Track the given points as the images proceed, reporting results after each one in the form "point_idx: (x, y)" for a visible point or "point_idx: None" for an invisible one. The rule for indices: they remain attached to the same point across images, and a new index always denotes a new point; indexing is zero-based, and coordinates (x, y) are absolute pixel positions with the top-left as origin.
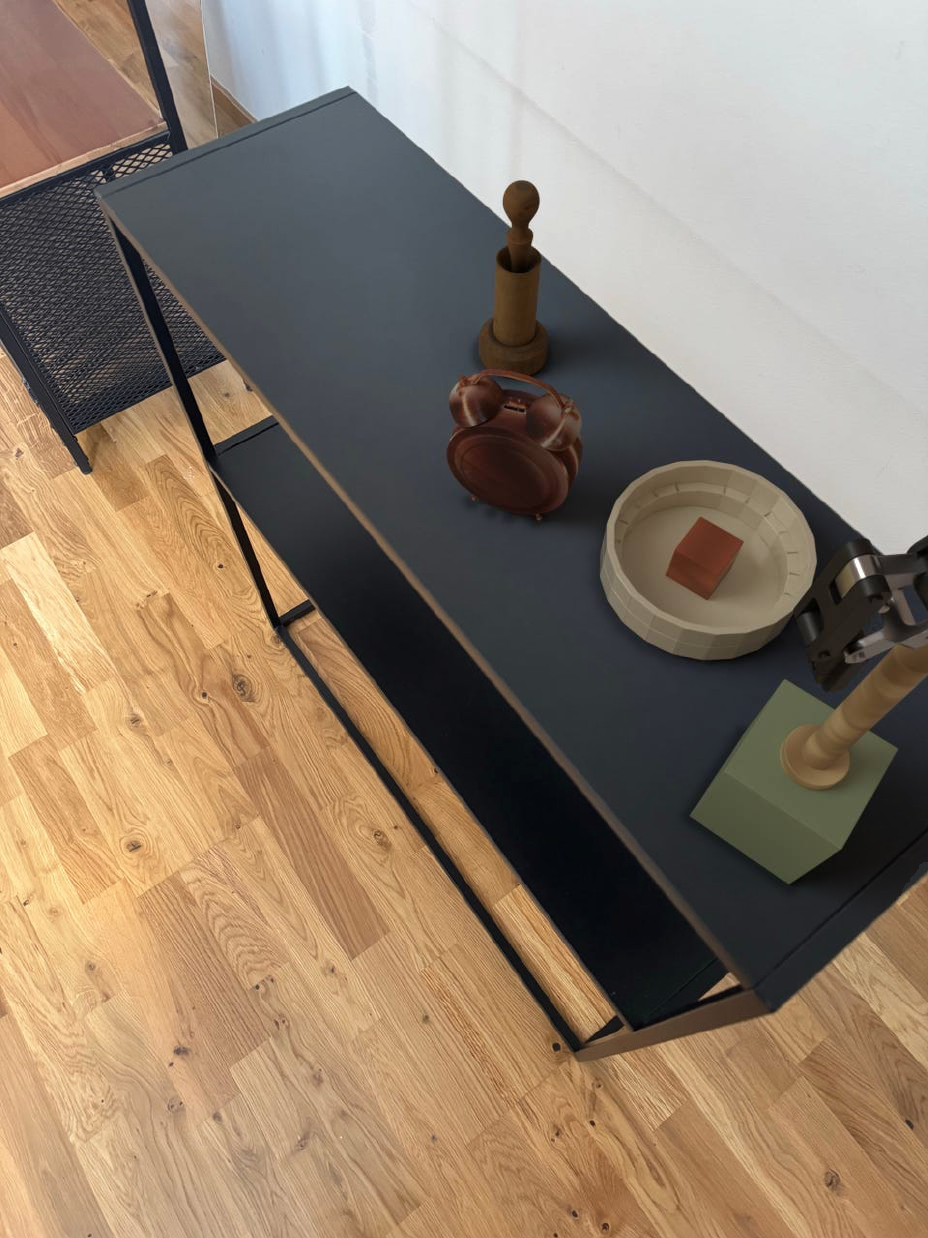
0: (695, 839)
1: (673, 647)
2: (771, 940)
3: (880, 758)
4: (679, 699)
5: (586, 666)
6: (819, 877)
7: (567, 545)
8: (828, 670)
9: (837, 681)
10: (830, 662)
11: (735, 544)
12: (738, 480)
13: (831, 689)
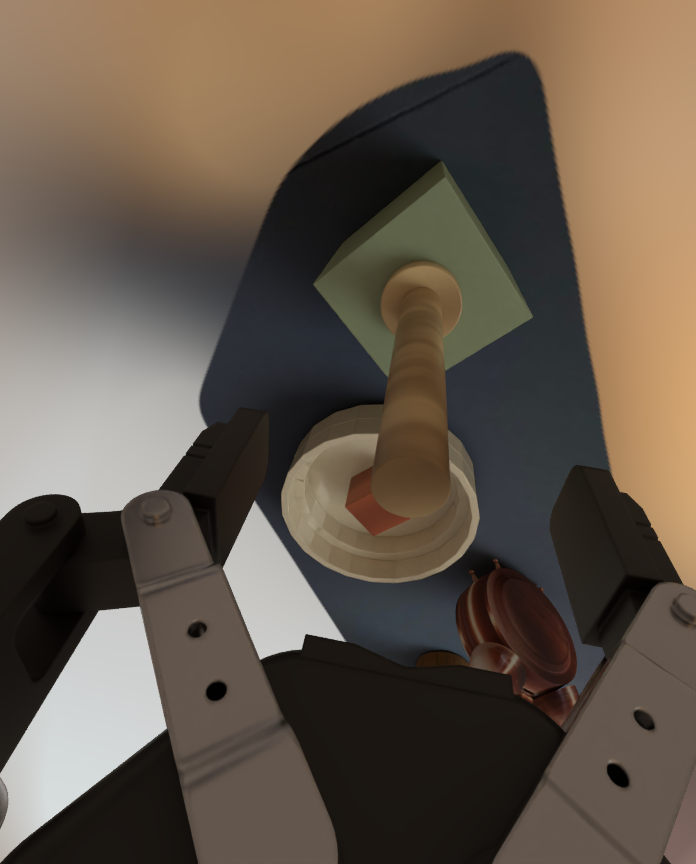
0: (514, 240)
1: None
2: (493, 97)
3: (339, 279)
4: (454, 381)
5: (524, 434)
6: (404, 159)
7: (481, 532)
8: (647, 537)
9: (623, 503)
10: (675, 572)
11: (353, 506)
12: (323, 550)
13: (608, 477)
